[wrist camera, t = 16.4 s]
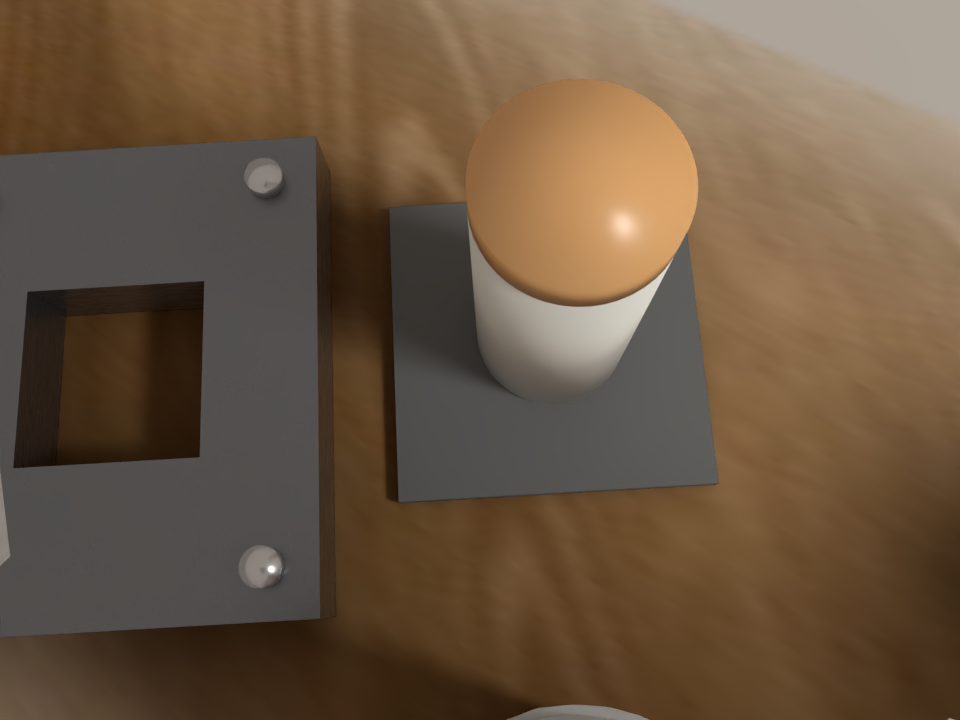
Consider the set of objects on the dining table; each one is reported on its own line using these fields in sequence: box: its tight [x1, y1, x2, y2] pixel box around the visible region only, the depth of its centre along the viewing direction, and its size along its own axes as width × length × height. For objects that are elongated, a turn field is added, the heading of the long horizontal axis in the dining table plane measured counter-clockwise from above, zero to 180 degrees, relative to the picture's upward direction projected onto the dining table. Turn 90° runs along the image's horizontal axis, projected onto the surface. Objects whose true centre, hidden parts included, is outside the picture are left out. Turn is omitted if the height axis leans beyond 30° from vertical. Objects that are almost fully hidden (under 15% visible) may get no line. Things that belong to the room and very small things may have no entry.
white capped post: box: [465, 79, 698, 404], centre depth 28 cm, size 6×6×13 cm
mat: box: [389, 203, 719, 503], centre depth 35 cm, size 12×12×1 cm
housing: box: [0, 136, 336, 637], centre depth 33 cm, size 15×18×4 cm
